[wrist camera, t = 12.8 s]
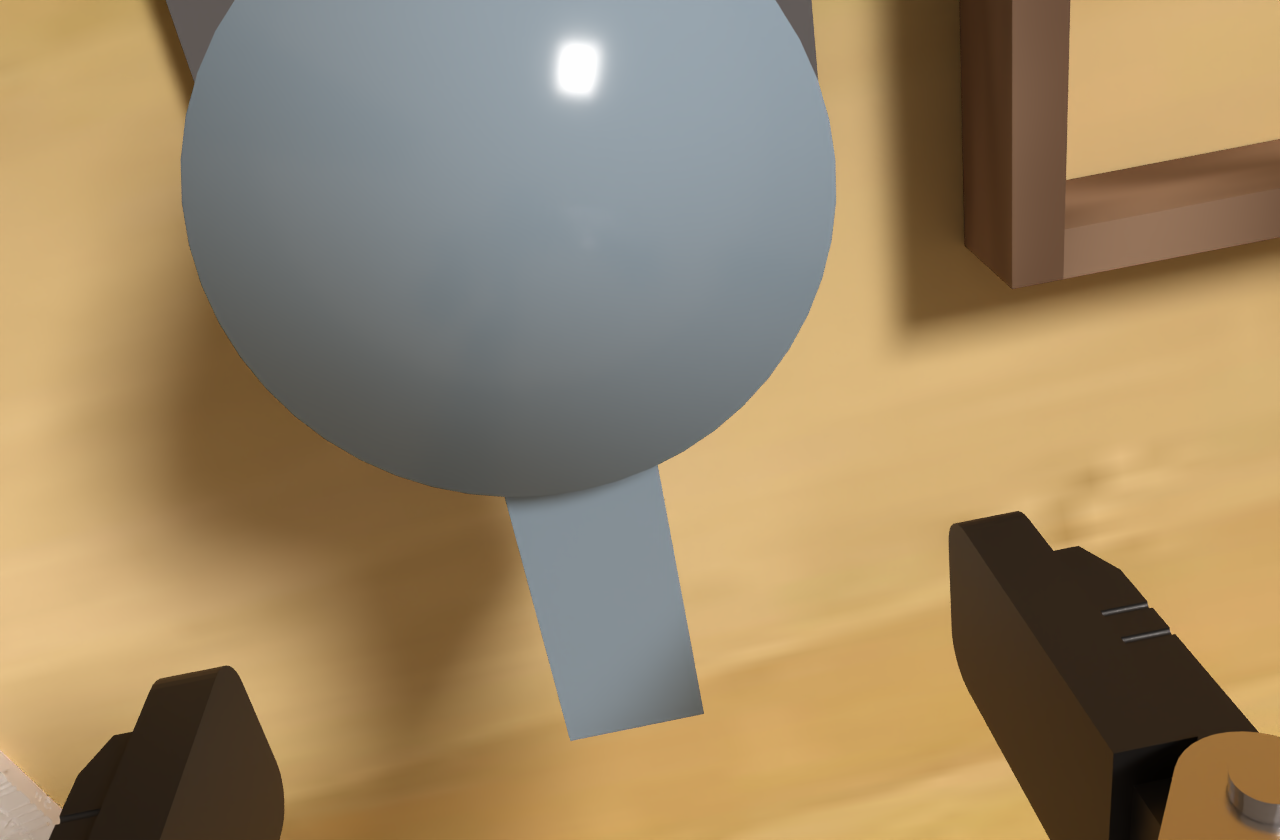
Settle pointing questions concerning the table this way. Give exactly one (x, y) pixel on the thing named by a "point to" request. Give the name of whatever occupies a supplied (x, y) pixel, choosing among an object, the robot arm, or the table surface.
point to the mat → (205, 3)
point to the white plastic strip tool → (24, 806)
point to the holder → (1088, 206)
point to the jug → (521, 268)
